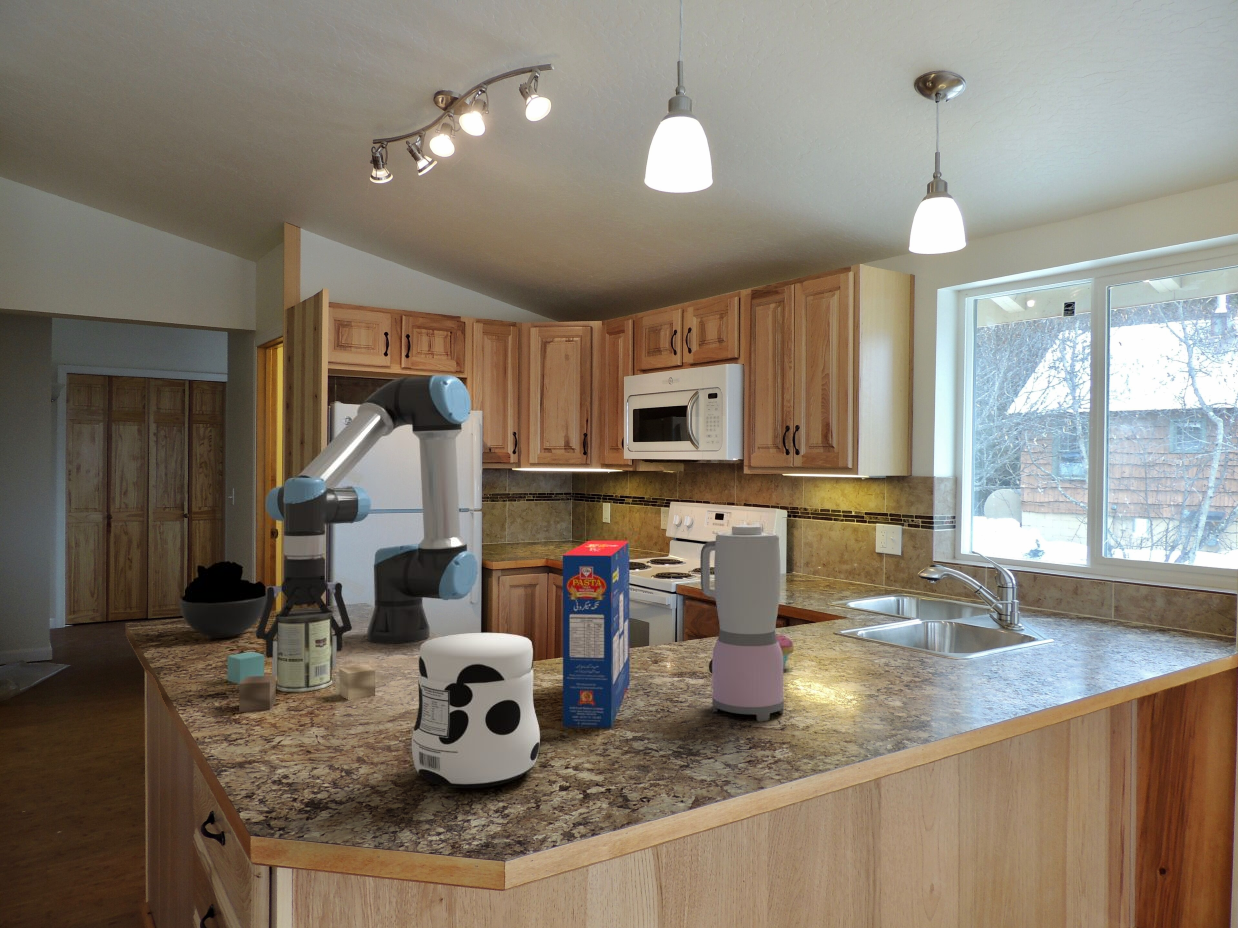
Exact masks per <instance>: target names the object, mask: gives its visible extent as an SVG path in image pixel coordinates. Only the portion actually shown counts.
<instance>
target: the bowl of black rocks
mask: <svg viewBox="0 0 1238 928" xmlns="http://www.w3.org/2000/svg"><path fill="white" fill-rule="evenodd" d="M196 568H197V569H196V571H197V577H195V578H194V579H193V580H192V582H190V583H189V586H186V587H185V589H184V595H183V597H182V598H180V599H179V601H178V605H179V606H178V607H179V609H180V613H181V615H182V617H183V619H184V621H185V623H187V624H188V626H189V627H190V628H192V629H193V630H194V631H195V632H198V633H199V634H201V635H204V636H206V637H209V638H210V637H211V638H214V639H225V638H231V637H235V636H239V635H240V634H242V633H244V632H246V631H248V630H249V629H250V628H252V627H253V626H254V625H255V624H256V623H257V622H258V621H259V620H260V618H261V614H262V611H263V608H264V605H265V602H266V599H267V594H266V588H267V586H265V584H264V583H263V582H262V581H259V580H258V581H256V582H254V583H253V582H251V581H249V580H248V579H242V576H243V573H244V570H243V568H244V566H242V565H241V564H238V563H236V562H235V561H232V562H231V560H226V561H219V562H215V563H213V564H212V565H209V566H208V567H207V568H206V567H205V566H204V565H197V567H196Z"/></svg>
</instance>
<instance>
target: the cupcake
mask: <svg viewBox="0 0 1238 928" xmlns="http://www.w3.org/2000/svg"><path fill="white" fill-rule="evenodd" d="M775 634H776V638H777V641H778V643H779V645H780V647H781V650H782V654H783V670H784V669H785V668H786V663H787V661H788V658H789V655H791V654H793V652H794V650H795V649H794V642H793V641H792V640H791V639H790V638H788V637H787V636H785V635H783V634H778V633H775Z"/></svg>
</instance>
